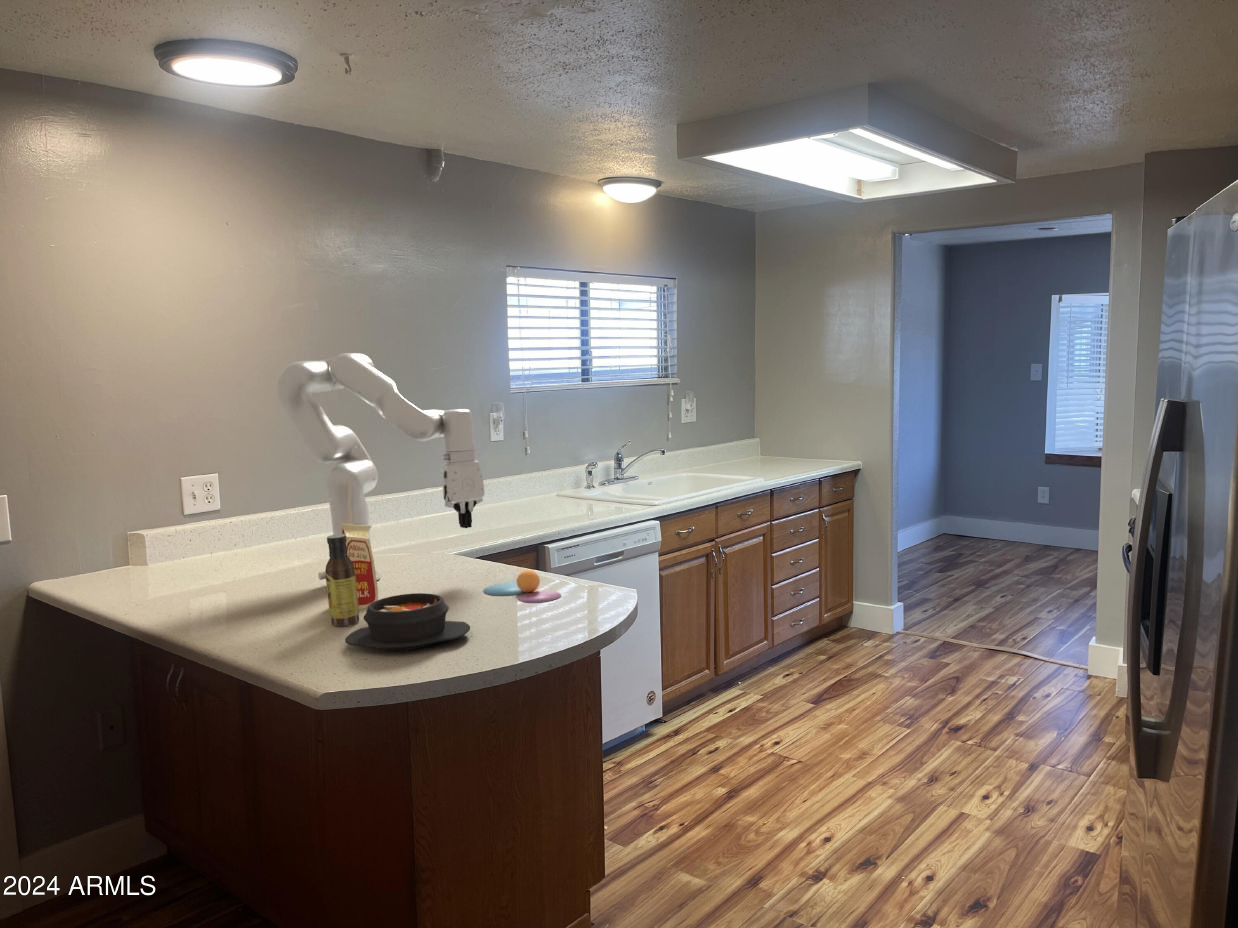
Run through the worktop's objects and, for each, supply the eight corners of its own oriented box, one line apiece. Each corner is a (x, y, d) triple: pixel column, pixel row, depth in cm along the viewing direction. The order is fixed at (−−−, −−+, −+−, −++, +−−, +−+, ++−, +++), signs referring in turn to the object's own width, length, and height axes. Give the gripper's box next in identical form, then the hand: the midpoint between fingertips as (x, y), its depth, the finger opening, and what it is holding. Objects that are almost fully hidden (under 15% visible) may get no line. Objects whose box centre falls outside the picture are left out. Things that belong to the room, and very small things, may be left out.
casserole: (476, 625, 197) (473, 587, 196) (463, 653, 178) (460, 610, 178) (359, 632, 197) (355, 594, 196) (334, 660, 178) (330, 618, 177)
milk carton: (344, 611, 215) (336, 526, 213) (337, 603, 223) (329, 521, 221) (383, 604, 219) (376, 521, 217) (374, 596, 227) (367, 516, 225)
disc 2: (534, 604, 211) (534, 604, 211) (510, 597, 218) (510, 597, 218) (569, 595, 217) (569, 595, 217) (544, 589, 225) (544, 588, 225)
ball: (517, 567, 220) (509, 581, 223) (529, 585, 218) (520, 599, 221) (535, 562, 224) (527, 576, 227) (547, 580, 221) (538, 594, 225)
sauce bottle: (335, 620, 207) (327, 533, 205) (363, 618, 207) (355, 531, 205) (326, 628, 201) (317, 538, 198) (355, 627, 201) (346, 537, 198)
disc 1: (502, 598, 218) (502, 597, 218) (473, 590, 228) (473, 589, 228) (547, 587, 226) (547, 586, 226) (517, 579, 236) (517, 579, 236)
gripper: (442, 461, 230) (447, 533, 232) (493, 454, 240) (498, 524, 242) (427, 459, 236) (433, 530, 238) (477, 453, 246) (482, 521, 248)
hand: (465, 527), depth 240 cm, fingers closed
